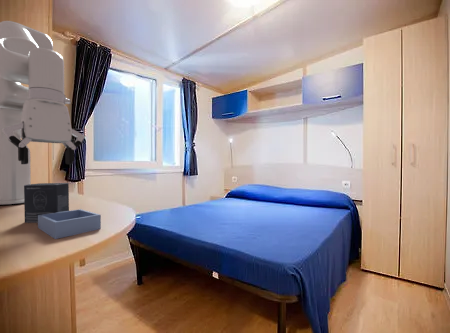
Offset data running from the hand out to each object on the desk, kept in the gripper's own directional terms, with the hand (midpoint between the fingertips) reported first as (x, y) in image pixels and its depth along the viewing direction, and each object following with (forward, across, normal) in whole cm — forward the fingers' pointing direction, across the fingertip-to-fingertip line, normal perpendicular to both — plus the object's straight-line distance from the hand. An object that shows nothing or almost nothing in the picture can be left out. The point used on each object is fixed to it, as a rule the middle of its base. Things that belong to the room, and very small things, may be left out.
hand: (48, 164), depth 61 cm
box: (+16, 0, -1) cm, 16 cm away
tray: (+16, -1, +11) cm, 19 cm away
